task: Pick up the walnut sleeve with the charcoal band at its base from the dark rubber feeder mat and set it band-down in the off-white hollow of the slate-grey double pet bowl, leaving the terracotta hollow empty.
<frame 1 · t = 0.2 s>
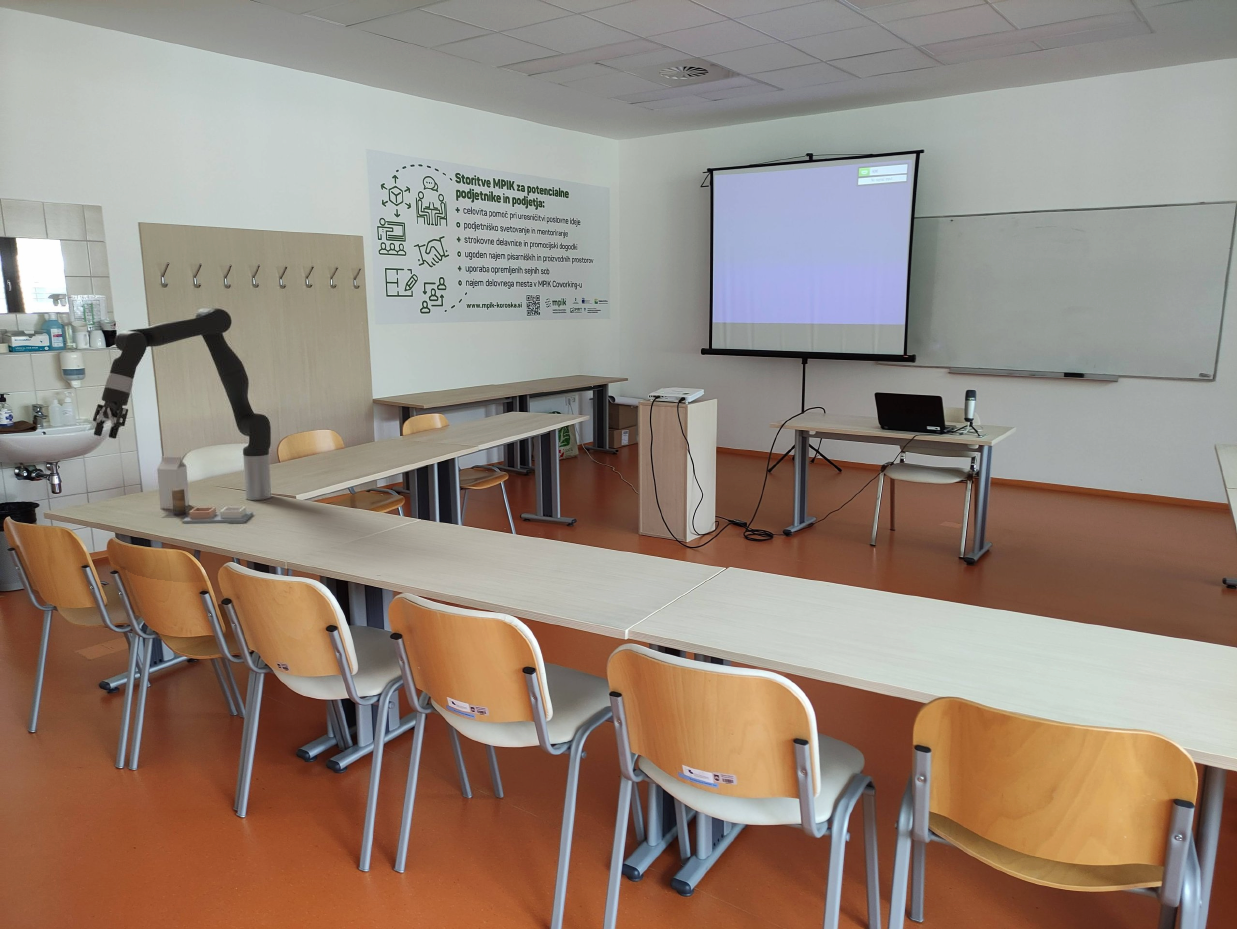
hand: (104, 436, 279), 31 cm above the table, tool tilted 20°, fingers open, 8 cm apart
milk carton: (175, 507, 314), on the table
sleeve: (179, 514, 303), resting on feeder mat
double pet bowl: (218, 519, 298), on the table
feeder mat: (179, 515, 303), on the table
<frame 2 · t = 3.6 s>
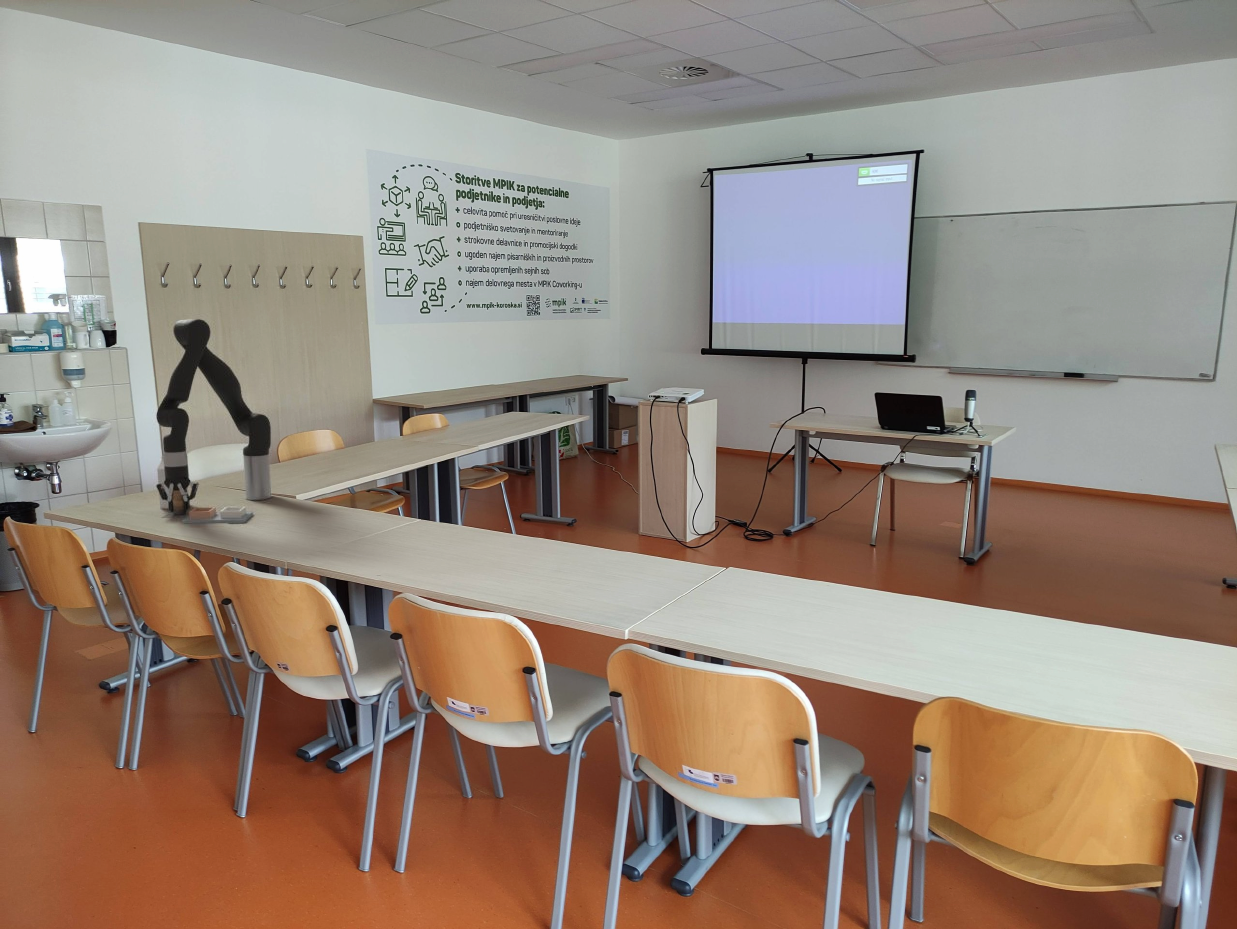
hand: (179, 510, 302), 2 cm above the table, tool pointing down, fingers closed on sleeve, 4 cm apart
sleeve: (179, 514, 303), resting on feeder mat, touching gripper
everything else where it was.
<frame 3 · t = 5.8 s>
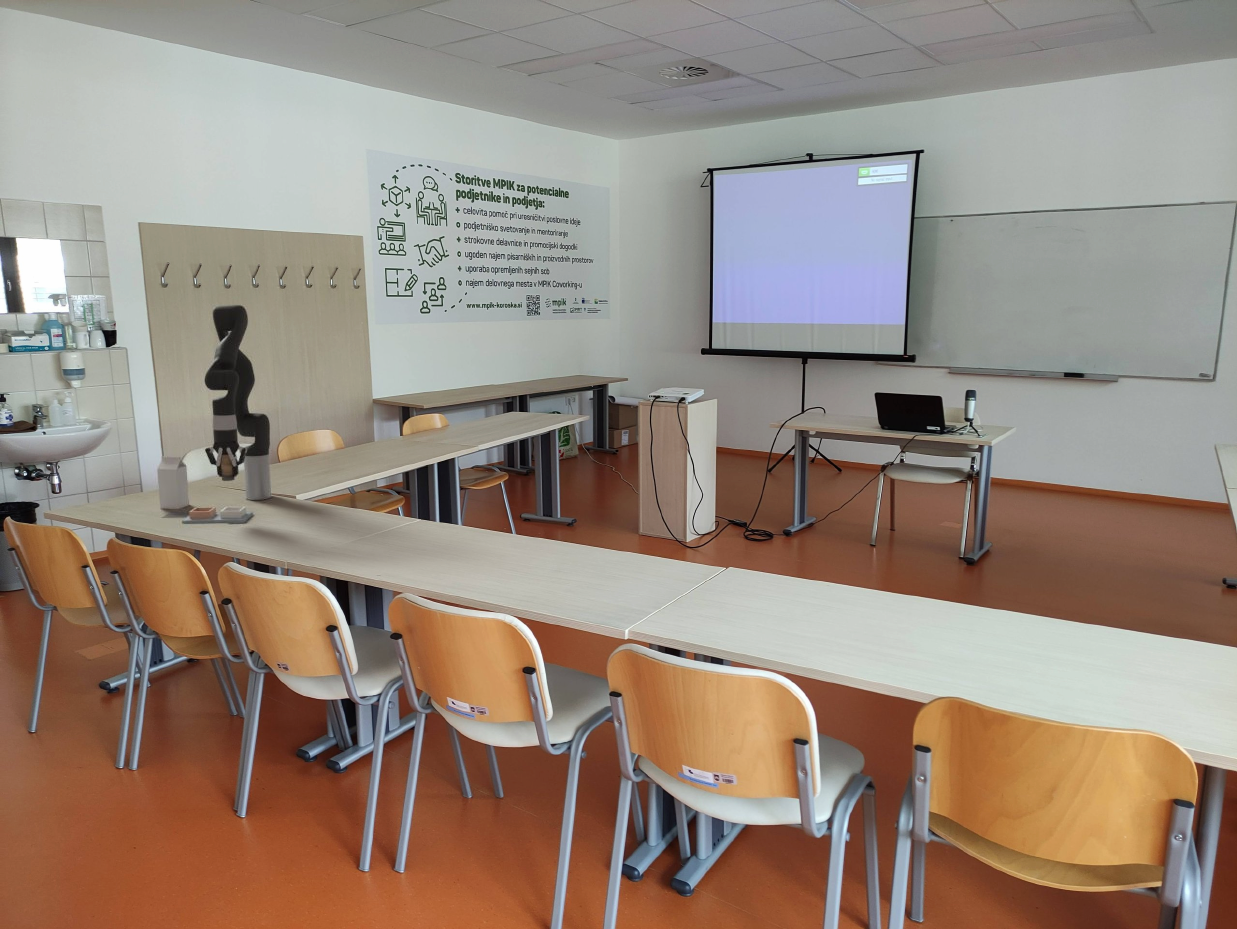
hand: (228, 476, 296), 15 cm above the table, tool pointing down, fingers closed on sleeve, 4 cm apart
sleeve: (228, 479, 296), point 14 cm above the table, touching gripper
everything else where it was.
when the fingers open (4 cm above the table, at t = 8.3 s): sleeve drops 2 cm, resting on double pet bowl.
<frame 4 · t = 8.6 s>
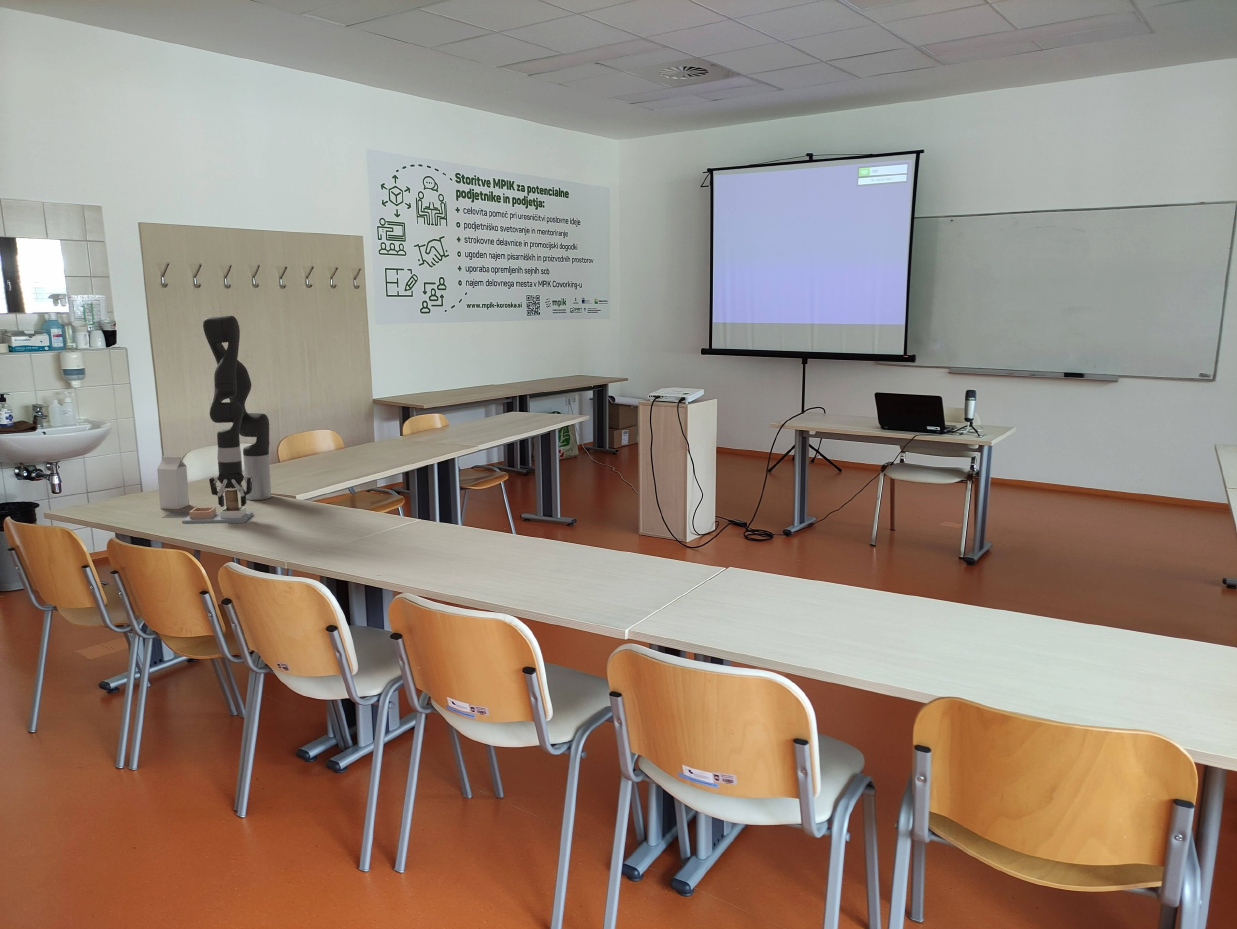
hand: (232, 506, 298), 5 cm above the table, tool pointing down, fingers open, 6 cm apart
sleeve: (233, 515, 299), point 1 cm above the table, touching double pet bowl
everything else where it was.
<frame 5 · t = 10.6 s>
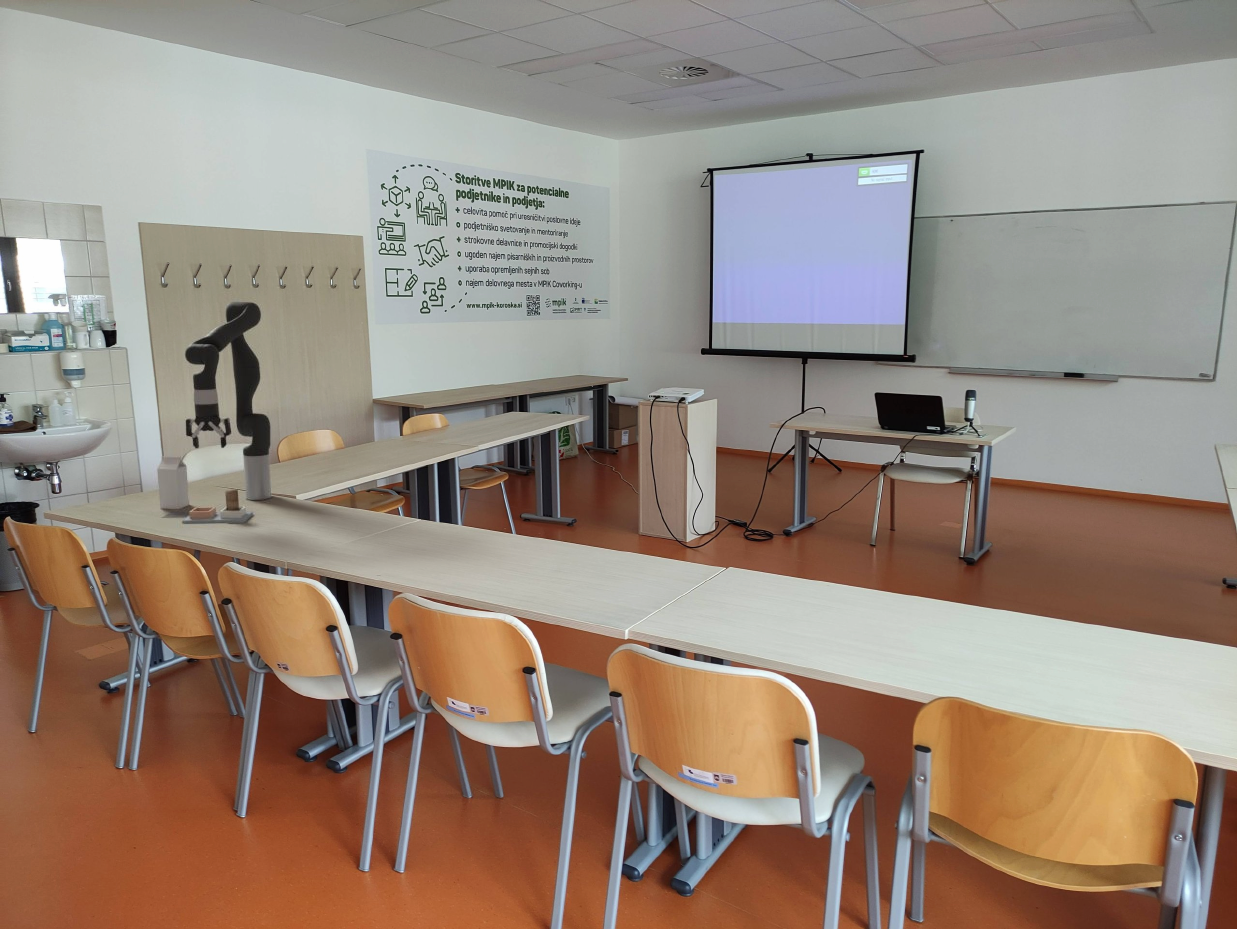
hand: (210, 447, 299), 25 cm above the table, tool pointing down, fingers open, 8 cm apart
nothing on the table moved.
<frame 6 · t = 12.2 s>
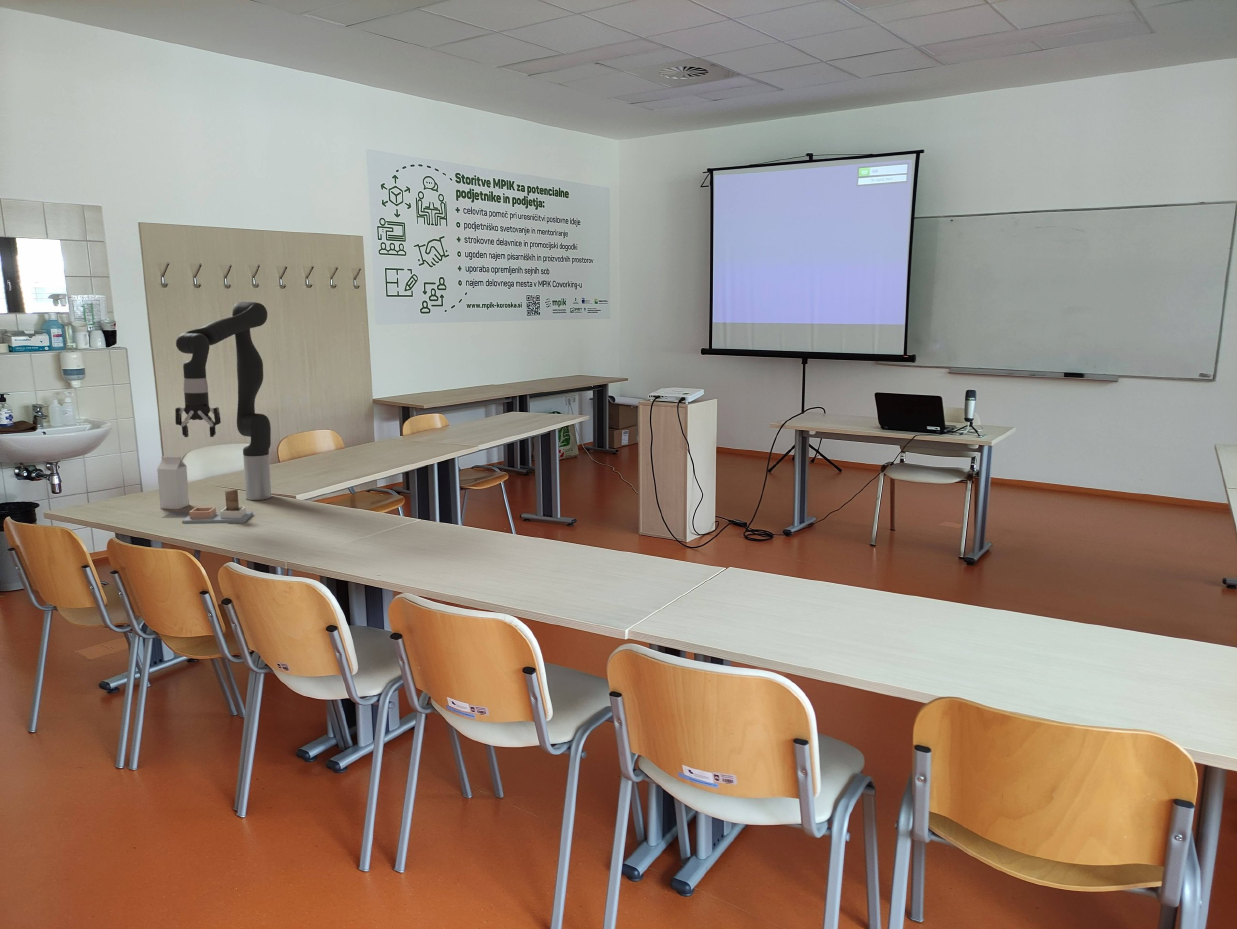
hand: (199, 436, 300), 28 cm above the table, tool pointing down, fingers open, 8 cm apart
nothing on the table moved.
at the end: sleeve 0.0 cm from the target spot on the double pet bowl, point 1.2 cm above the double pet bowl's base; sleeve tilted 1°; the gripper is holding nothing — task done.
